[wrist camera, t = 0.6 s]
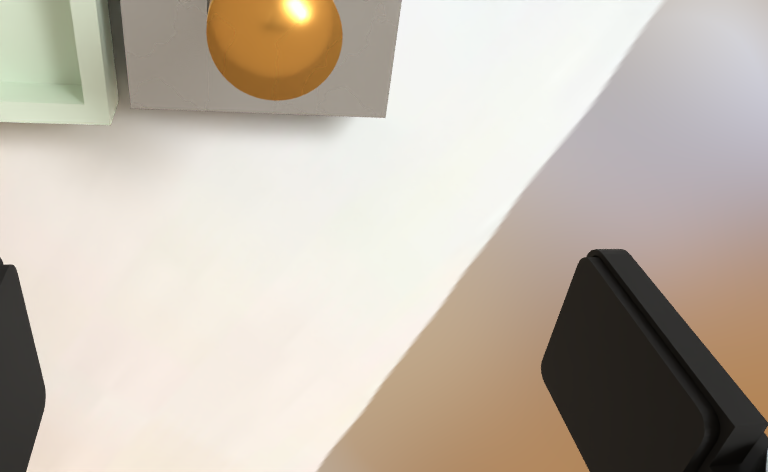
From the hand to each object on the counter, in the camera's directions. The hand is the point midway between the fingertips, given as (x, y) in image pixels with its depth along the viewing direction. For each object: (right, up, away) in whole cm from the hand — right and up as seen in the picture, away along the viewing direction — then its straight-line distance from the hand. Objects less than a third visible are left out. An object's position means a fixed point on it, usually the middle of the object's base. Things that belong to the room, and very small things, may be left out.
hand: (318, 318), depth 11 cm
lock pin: (-4, +14, +19) cm, 24 cm away
